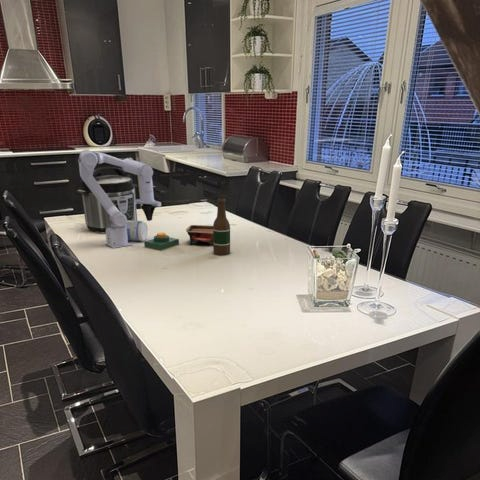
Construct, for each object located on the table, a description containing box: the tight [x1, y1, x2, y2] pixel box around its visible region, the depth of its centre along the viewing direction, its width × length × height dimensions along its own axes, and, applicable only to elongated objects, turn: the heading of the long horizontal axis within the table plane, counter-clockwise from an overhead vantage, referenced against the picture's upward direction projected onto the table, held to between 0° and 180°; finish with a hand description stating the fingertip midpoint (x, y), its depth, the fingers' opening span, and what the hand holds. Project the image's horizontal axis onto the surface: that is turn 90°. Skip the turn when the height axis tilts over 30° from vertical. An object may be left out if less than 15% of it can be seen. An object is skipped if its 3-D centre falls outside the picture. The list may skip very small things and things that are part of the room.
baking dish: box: [185, 224, 213, 246], centre depth 224 cm, size 14×18×10 cm
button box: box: [143, 234, 180, 251], centre depth 219 cm, size 13×10×4 cm
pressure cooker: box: [76, 166, 138, 234], centre depth 243 cm, size 30×28×32 cm
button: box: [156, 232, 167, 238], centre depth 218 cm, size 4×4×2 cm
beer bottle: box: [212, 197, 231, 256], centre depth 205 cm, size 8×8×24 cm
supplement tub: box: [126, 220, 149, 242], centre depth 227 cm, size 10×10×15 cm
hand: (149, 220), depth 222 cm, fingers closed
